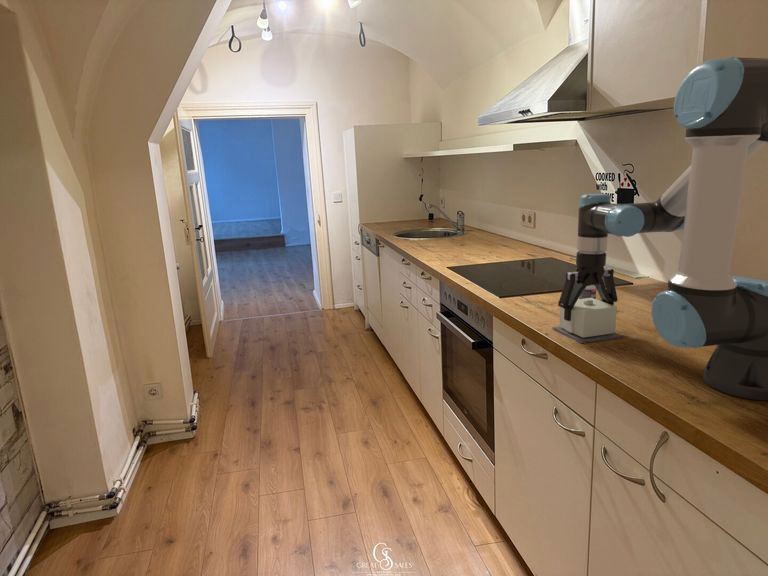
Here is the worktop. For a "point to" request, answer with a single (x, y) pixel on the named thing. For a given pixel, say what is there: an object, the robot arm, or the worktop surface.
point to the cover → (592, 318)
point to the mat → (586, 339)
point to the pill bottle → (588, 292)
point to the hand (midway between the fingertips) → (586, 328)
